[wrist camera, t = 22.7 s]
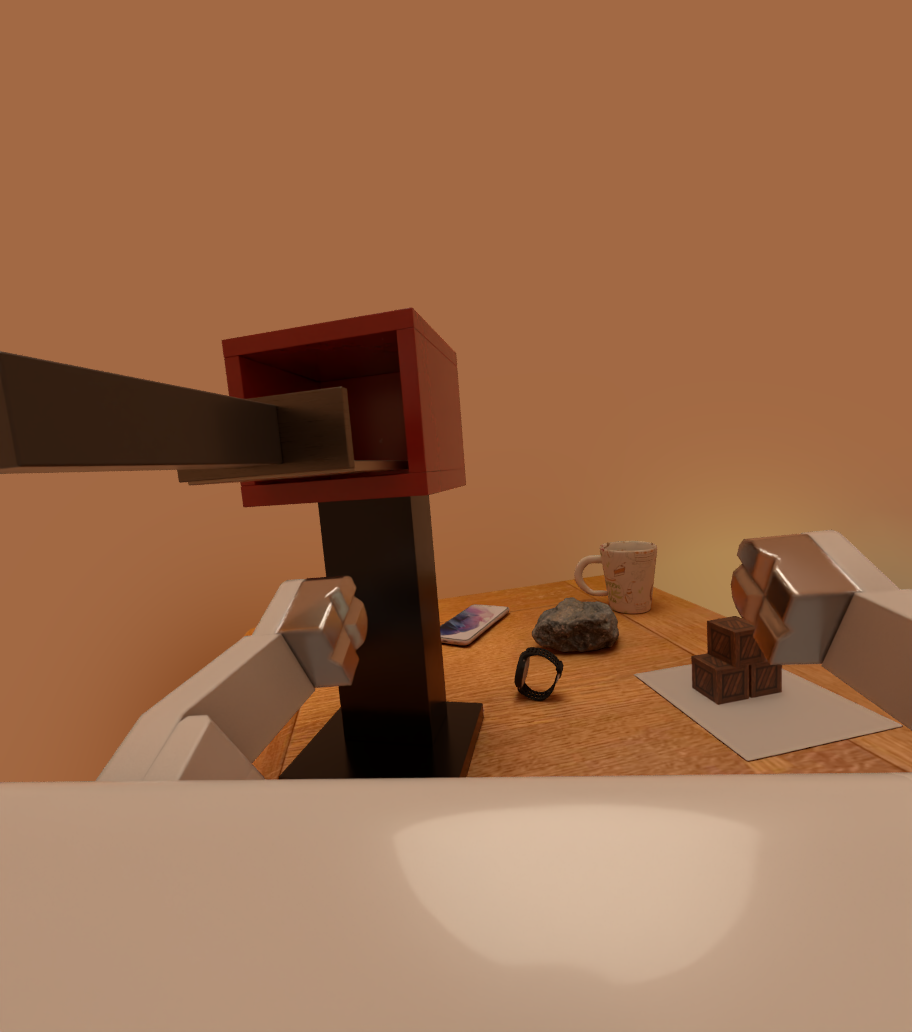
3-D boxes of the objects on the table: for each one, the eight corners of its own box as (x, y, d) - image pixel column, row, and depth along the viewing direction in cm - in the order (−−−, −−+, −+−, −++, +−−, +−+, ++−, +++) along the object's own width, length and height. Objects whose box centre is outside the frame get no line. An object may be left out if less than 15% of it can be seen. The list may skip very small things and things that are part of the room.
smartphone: (424, 636, 62) (472, 604, 75) (424, 641, 62) (473, 608, 75) (468, 641, 59) (510, 606, 72) (468, 647, 59) (511, 611, 72)
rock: (584, 622, 65) (582, 590, 64) (638, 645, 56) (637, 606, 55) (513, 643, 60) (510, 607, 59) (561, 671, 51) (558, 629, 50)
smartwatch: (527, 683, 48) (525, 639, 48) (570, 697, 45) (568, 650, 44) (505, 699, 45) (502, 653, 45) (550, 715, 42) (547, 665, 41)
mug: (660, 618, 64) (658, 551, 63) (572, 614, 69) (569, 551, 68) (657, 600, 72) (655, 540, 71) (578, 598, 77) (575, 541, 76)
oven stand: (455, 814, 31) (412, 307, 27) (280, 794, 34) (221, 339, 30) (483, 717, 42) (456, 353, 39) (351, 710, 46) (314, 373, 42)
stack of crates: (747, 761, 34) (747, 676, 33) (633, 674, 48) (631, 614, 48) (903, 726, 36) (906, 646, 36) (750, 654, 51) (750, 596, 50)
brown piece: (135, 483, 11) (107, 305, 10) (-141, 507, 13) (-173, 364, 13) (411, 468, 31) (406, 408, 31) (282, 479, 33) (275, 423, 33)
